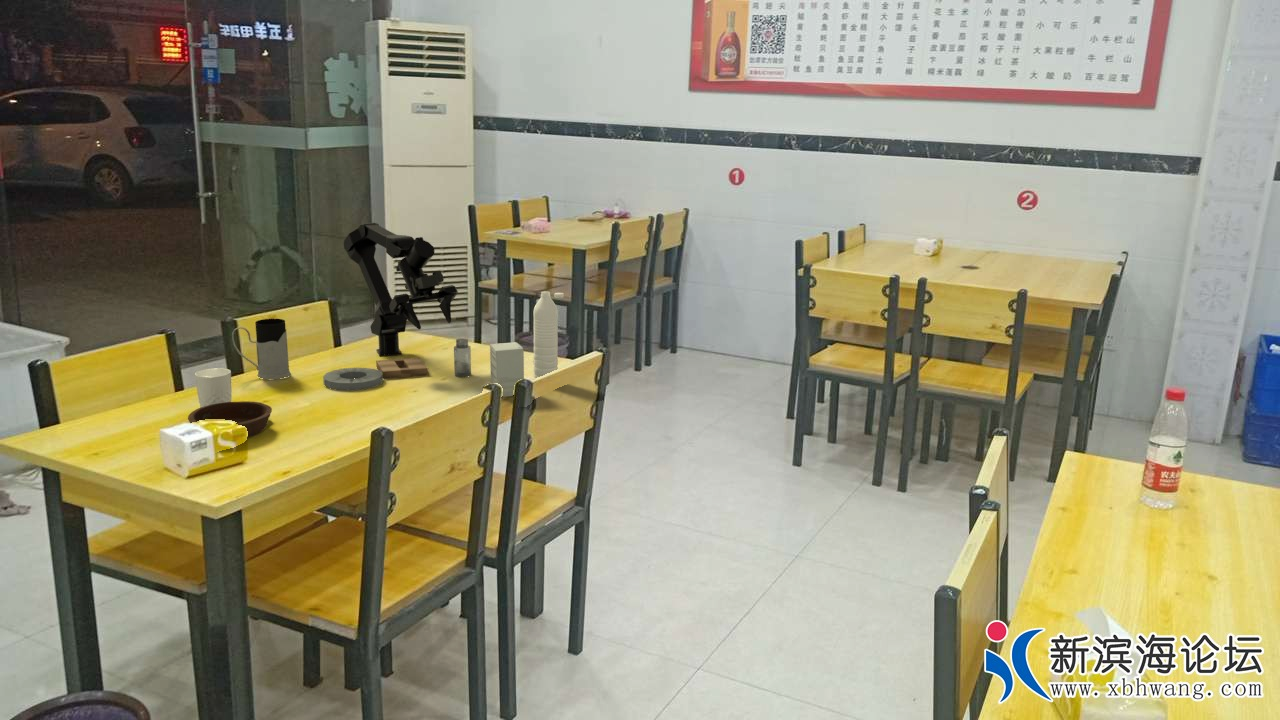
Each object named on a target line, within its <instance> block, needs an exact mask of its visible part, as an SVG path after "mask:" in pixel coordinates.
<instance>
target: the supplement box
mask: <svg viewBox="0 0 1280 720" xmlns="http://www.w3.org/2000/svg"><path fill="white" fill-rule="evenodd" d="M524 353H525V351H524V348H523V346H521V345H520V344H519V343H518V342H517V341H516V342H515V341H514V342H513V341H512V342H503V343H499V342H498V343H490V344H489V355H490V356H489V357H490V358H489V360H490V384H491V383H498V384H500V385H501V386H502V388H503V397H502V398H506V397H514V396H513V390H514V385H515V383H516V382H517V381H518V380H520V379H524V380H525V366H524V365H525V364H524V363H525V359H524V358H525V356H524V355H525V354H524Z"/></svg>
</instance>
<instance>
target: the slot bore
mask: <svg viewBox="0 0 1280 720" xmlns="http://www.w3.org/2000/svg"><path fill="white" fill-rule="evenodd" d="M375 363H376V365H375V366H376V367H377V368H376V370H379V371H381V372H382V374H383V380H385V379H386V380H387V379H398V378H408V377H411V378H412V377H421V376H429V370H428V369H429V368H428V367H427V365H426V364H425V363H424V361H423V360H422V359H421V357H417V356H416V357H407V358H406V357H405V358H395V359H394V358H393V359H392V358H391V359H381V360H376V362H375Z"/></svg>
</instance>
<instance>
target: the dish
mask: <svg viewBox="0 0 1280 720" xmlns="http://www.w3.org/2000/svg"><path fill="white" fill-rule="evenodd" d="M272 411H273V409H272V407H271V406H270V405H268V404H265V403H263V402H259V401H249V400H248V401H244V400H243V401H231V402H225V403H218V404H212V405H208V406H204V407H201V408H200V407H199V408H198V407H197V408H196V409H195V410H192V411H191V412H190V413H189V414H188V415H187V419H188V422H189V423H190V424H191V423H192V422H197V421H199V420H205V419H225V420H232V421H235V422H237V423H236V424H238V425H242V426H245V427H246V428H247V431H248V438H251V437H254V436H256V435H257V434H260V433H261V432H263V431H264V430H265V429H266V428H267V426H268V423H269V422H268V421H269V418H270V417H271V413H272ZM250 436H251V437H250Z"/></svg>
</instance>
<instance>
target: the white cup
mask: <svg viewBox="0 0 1280 720" xmlns="http://www.w3.org/2000/svg"><path fill="white" fill-rule="evenodd" d="M194 377H195V385H196V391H197V397H198V398H197V399H198V403H199V406H200V407H199V408H201V407H204V406H208V405H212V404H218V403H225V402H232V398H233V397H232V393H233V392H232V389H233V388H232V371H231V369H228V368H221V367H217V368H216V367H215V368H214V367H212V368H206V369H202V370H198V371H196V372H195V373H194Z"/></svg>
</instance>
